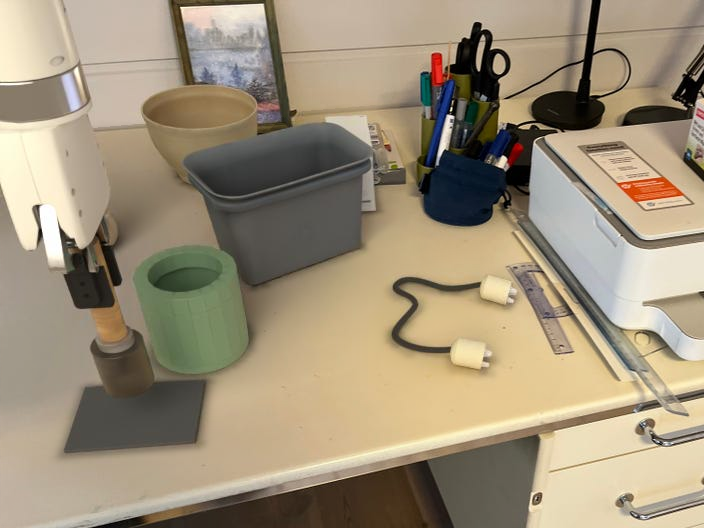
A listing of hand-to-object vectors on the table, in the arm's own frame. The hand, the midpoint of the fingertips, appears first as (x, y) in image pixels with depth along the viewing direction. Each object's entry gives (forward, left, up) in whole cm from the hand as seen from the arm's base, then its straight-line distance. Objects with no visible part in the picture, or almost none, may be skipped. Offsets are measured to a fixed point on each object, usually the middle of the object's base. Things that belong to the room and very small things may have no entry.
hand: (99, 294), depth 66 cm
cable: (+33, +12, -15) cm, 38 cm away
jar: (+5, +11, -15) cm, 19 cm away
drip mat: (0, 0, -15) cm, 15 cm away
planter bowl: (+2, +53, -15) cm, 55 cm away
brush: (0, 0, -11) cm, 11 cm away
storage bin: (+14, +30, -15) cm, 37 cm away
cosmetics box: (+23, +45, -15) cm, 53 cm away
